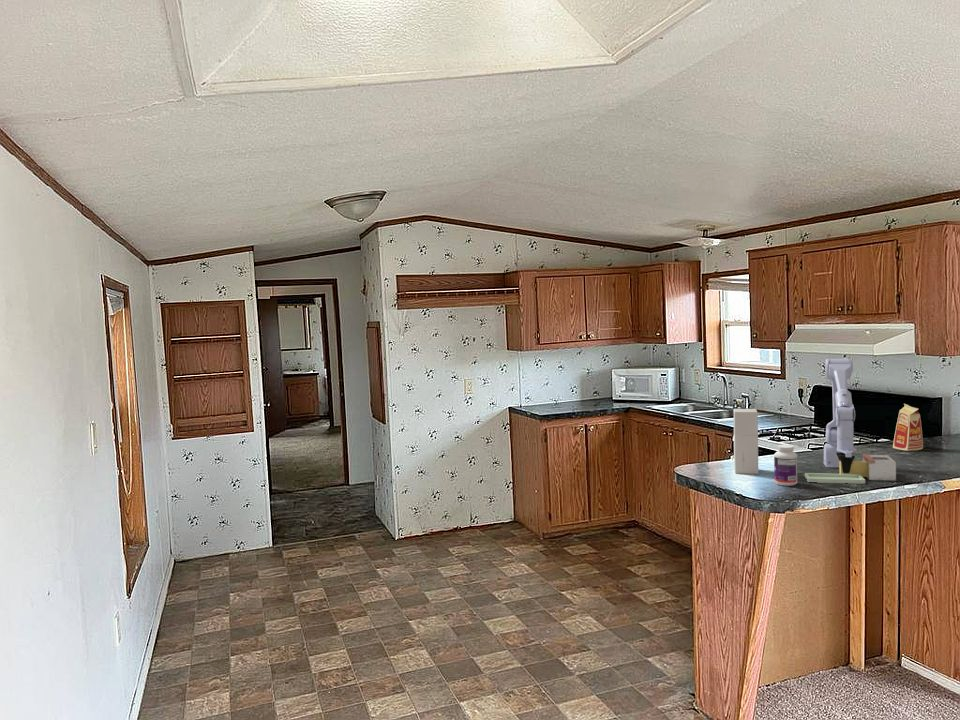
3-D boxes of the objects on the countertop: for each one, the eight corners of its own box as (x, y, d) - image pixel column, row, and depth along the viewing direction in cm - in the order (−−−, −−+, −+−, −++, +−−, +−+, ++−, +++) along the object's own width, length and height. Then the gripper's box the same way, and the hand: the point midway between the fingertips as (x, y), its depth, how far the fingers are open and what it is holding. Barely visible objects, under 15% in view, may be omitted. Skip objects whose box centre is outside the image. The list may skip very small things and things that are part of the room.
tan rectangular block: (840, 476, 299) (840, 462, 299) (839, 474, 302) (839, 460, 302) (875, 477, 296) (875, 462, 296) (873, 475, 299) (873, 461, 299)
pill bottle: (778, 480, 297) (778, 443, 295) (800, 483, 291) (800, 445, 290) (771, 484, 290) (770, 446, 289) (793, 487, 285) (793, 448, 284)
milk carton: (892, 447, 349) (892, 403, 347) (908, 446, 352) (908, 402, 350) (909, 451, 340) (909, 406, 339) (925, 449, 343) (925, 404, 341)
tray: (808, 482, 292) (808, 478, 292) (804, 476, 301) (804, 472, 301) (865, 484, 286) (865, 480, 286) (860, 478, 296) (860, 474, 296)
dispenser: (869, 479, 292) (869, 460, 292) (862, 472, 305) (862, 453, 304) (895, 480, 290) (895, 461, 289) (887, 472, 302) (887, 454, 302)
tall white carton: (735, 473, 311) (734, 411, 309) (734, 468, 319) (733, 408, 317) (758, 474, 308) (757, 411, 306) (756, 469, 317) (756, 408, 315)
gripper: (860, 440, 291) (860, 476, 292) (852, 434, 305) (852, 468, 306) (840, 440, 293) (840, 476, 294) (833, 434, 307) (833, 467, 308)
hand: (845, 472), depth 300 cm, fingers closed on tan rectangular block, 3 cm apart
